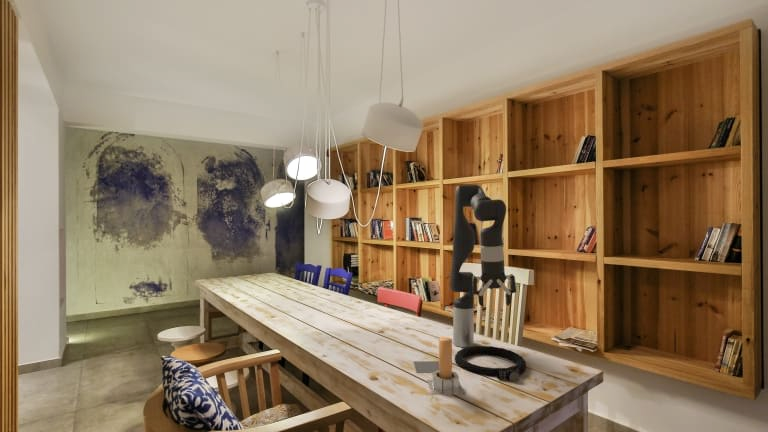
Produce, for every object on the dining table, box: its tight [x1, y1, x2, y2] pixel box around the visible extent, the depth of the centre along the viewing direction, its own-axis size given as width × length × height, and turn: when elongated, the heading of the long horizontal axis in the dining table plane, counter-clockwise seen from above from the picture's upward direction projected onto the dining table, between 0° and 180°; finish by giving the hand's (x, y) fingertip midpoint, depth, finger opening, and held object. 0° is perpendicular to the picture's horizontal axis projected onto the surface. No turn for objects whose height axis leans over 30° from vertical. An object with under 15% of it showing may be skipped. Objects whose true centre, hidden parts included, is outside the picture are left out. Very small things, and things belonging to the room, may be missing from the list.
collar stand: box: [426, 370, 466, 396], centre depth 127 cm, size 11×11×5 cm
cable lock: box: [454, 345, 527, 383], centre depth 148 cm, size 28×4×30 cm
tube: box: [438, 337, 453, 379], centre depth 127 cm, size 4×4×16 cm
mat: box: [413, 360, 439, 374], centre depth 144 cm, size 11×11×1 cm
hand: (494, 305), depth 128 cm, fingers open, 8 cm apart
